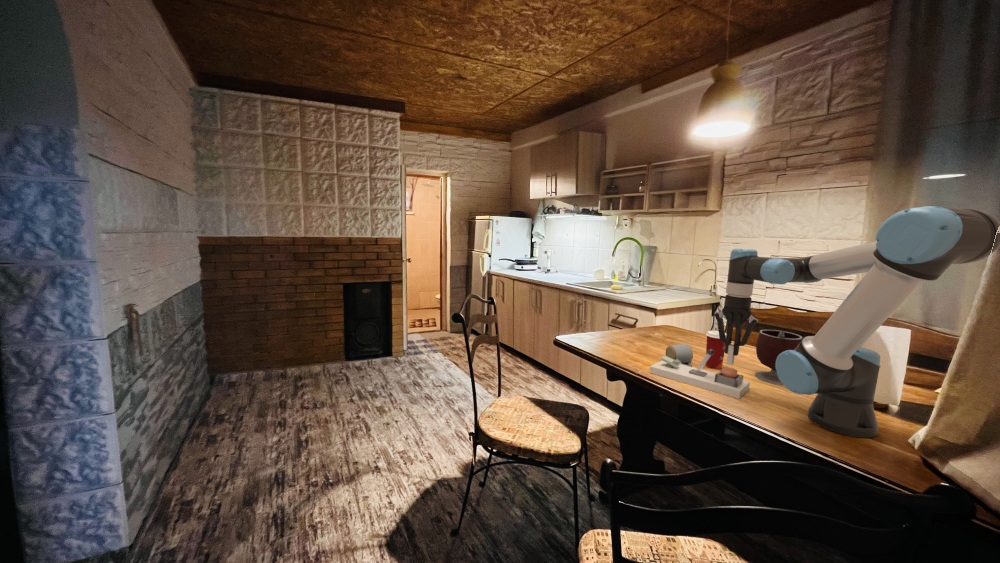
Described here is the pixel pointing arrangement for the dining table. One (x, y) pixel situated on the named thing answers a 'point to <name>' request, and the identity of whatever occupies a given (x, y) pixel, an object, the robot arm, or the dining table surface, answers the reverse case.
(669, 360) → the green rocker
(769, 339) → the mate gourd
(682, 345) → the ceramic mug
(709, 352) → the metal lever
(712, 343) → the paper cup
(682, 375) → the panel
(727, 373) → the terracotta button
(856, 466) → the dining table surface
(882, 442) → the dining table surface
